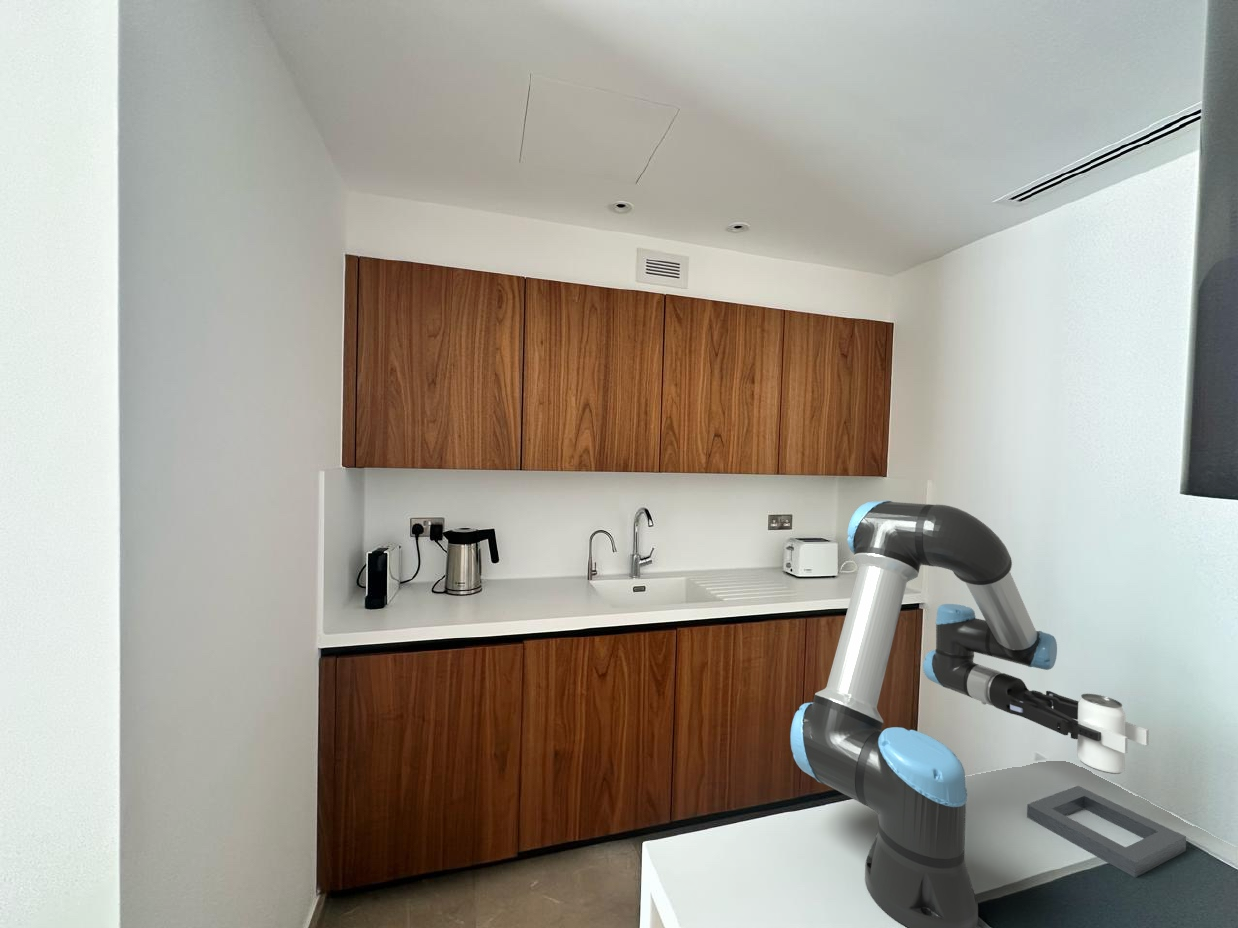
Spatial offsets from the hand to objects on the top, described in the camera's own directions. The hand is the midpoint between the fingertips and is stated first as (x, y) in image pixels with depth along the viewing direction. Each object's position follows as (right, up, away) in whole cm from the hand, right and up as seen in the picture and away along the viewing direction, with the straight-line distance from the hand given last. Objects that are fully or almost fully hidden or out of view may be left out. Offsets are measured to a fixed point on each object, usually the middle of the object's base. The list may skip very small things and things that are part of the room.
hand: (1136, 741), depth 92 cm
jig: (-2, -19, +4) cm, 20 cm away
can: (-2, -7, +5) cm, 9 cm away
